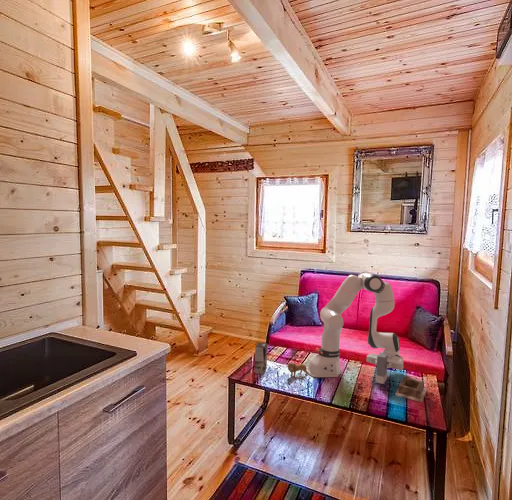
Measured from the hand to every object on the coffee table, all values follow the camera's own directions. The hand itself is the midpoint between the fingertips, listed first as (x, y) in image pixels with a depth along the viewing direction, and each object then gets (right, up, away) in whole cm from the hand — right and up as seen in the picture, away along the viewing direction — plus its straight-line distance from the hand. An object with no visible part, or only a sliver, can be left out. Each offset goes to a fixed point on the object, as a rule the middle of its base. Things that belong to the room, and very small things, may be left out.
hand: (381, 365), depth 187 cm
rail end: (0, -9, +1) cm, 9 cm away
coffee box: (-69, -9, +17) cm, 71 cm away
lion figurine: (-47, -10, +11) cm, 49 cm away
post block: (+13, -12, -7) cm, 19 cm away
